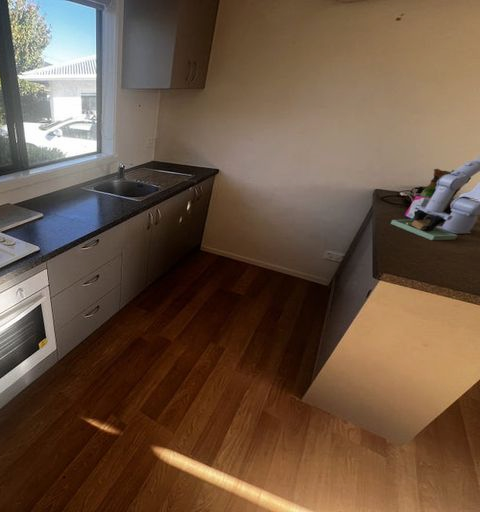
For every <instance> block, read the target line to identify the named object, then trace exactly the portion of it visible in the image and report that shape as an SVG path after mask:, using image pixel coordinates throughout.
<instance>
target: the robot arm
mask: <svg viewBox="0 0 480 512" xmlns="http://www.w3.org/2000/svg"><path fill="white" fill-rule="evenodd" d="M479 172H480V155H479V156H478V157H477V158H475V159H474V160H471V161H467V162H465V163H464V164H462V165H461V166H459V167H458V168H456V169H455V170H454V172H452V173H451V174H448V175H444V176H442V177H441V178H440V179H439V180H438V181H437V186H436V188H435V190H436V191H435V193H434V194H433V196H432V197H431V199H430V201H429V202H428V204H427V206H426V207H424V206H420V205H415V206H414V208H413V209H415V210H418V211H415V212H414V214H415V220H423V219H424V218H425V219H426V216H427V215H428V214H431V215H434V217H431V218H430V219H429V220H430V223H429V225H428V226H427V228H426V231H431V230H432V229H433V228H434V227H436V226H437V225H438V226H437V227H436V228H439V229H441V230H444V231H447V232H450V233H453V234H455V235H458V234H472V232H471V230H472V229H473V227H474V226H475V224H476V223H477V221H478V216H480V181H479V182H478V183H477V184H476V186H475V187H474V188H472V189H471V191H468V192H467V191H466V192H463V193H461V194H460V195H458V197H456V198H454V200H452V201H451V202H450V211H451V212H450V213H446V212H445V211H443V209H444V208H445V206H446V205H447V203H448V202H449V200H450V199H451V197H452V196H453V194H454V192H455V191H456V190H457V189H459V188H461V189H462V188H463V187H464V186H465V185H466V184H467V183H466V182H467V181H468V179H469V178H470V177H471V178H472V177H473V176H475V175H476V174H478V173H479ZM465 183H466V184H465ZM464 184H465V185H464ZM463 185H464V186H463ZM462 186H463V187H462ZM447 206H448V205H447ZM442 211H443V212H442ZM425 219H424V220H425ZM443 222H444V223H443ZM441 223H443V224H442V225H440V224H441Z"/></svg>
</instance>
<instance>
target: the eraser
mask: <svg viewBox="0 0 480 512" xmlns="http://www.w3.org/2000/svg"><path fill="white" fill-rule="evenodd" d="M430 220H431V219H424V220H415V221H414V222H413V223H412V224H411V225H410V226H411V227H413V228H416V229H418V230H421V231H426V228H427V226H428V225H429V223H430ZM437 226H439V224H438V225H437ZM437 226H436V227H434V228H433V229H432V230H431V231H433V230H434V229H435V228H437Z"/></svg>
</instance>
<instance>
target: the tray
mask: <svg viewBox="0 0 480 512" xmlns="http://www.w3.org/2000/svg"><path fill="white" fill-rule="evenodd" d="M414 221H415V220H414V219H392V220H391V222H390V225H393V226H395V227H398V228H399V229H403V230H405V231H407V232H409V233H412V234H415V235H417V236H419V237H423V238H425V239H427V240H430V241H453V240H456V239H457V238H458V236H459V235H458V234H454V233H451V232H448V231H446V230H443V229H440V228H437V227H436V228H435V229H434V230H433V231H421V230H418V229H416V228H413V227H411V226H410V225H406V223H413V222H414Z"/></svg>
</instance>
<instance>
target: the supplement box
mask: <svg viewBox="0 0 480 512" xmlns="http://www.w3.org/2000/svg"><path fill="white" fill-rule="evenodd" d="M430 199H431V198H430V197H424V196H420V195H415V197H414V198H413V200H412V202H411V204H410V206H409V207H408V209H407V210H406V212H405V214H404V217H406V218H407V219H409V220H412V219H414V220H415V214H414V212H415V211H418V210H415V209H413V208H414V206H415V205H420V206H424V207H426V206H427V204H428V202H429V201H430ZM423 220H426V217H425V218H424V219H423Z"/></svg>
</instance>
